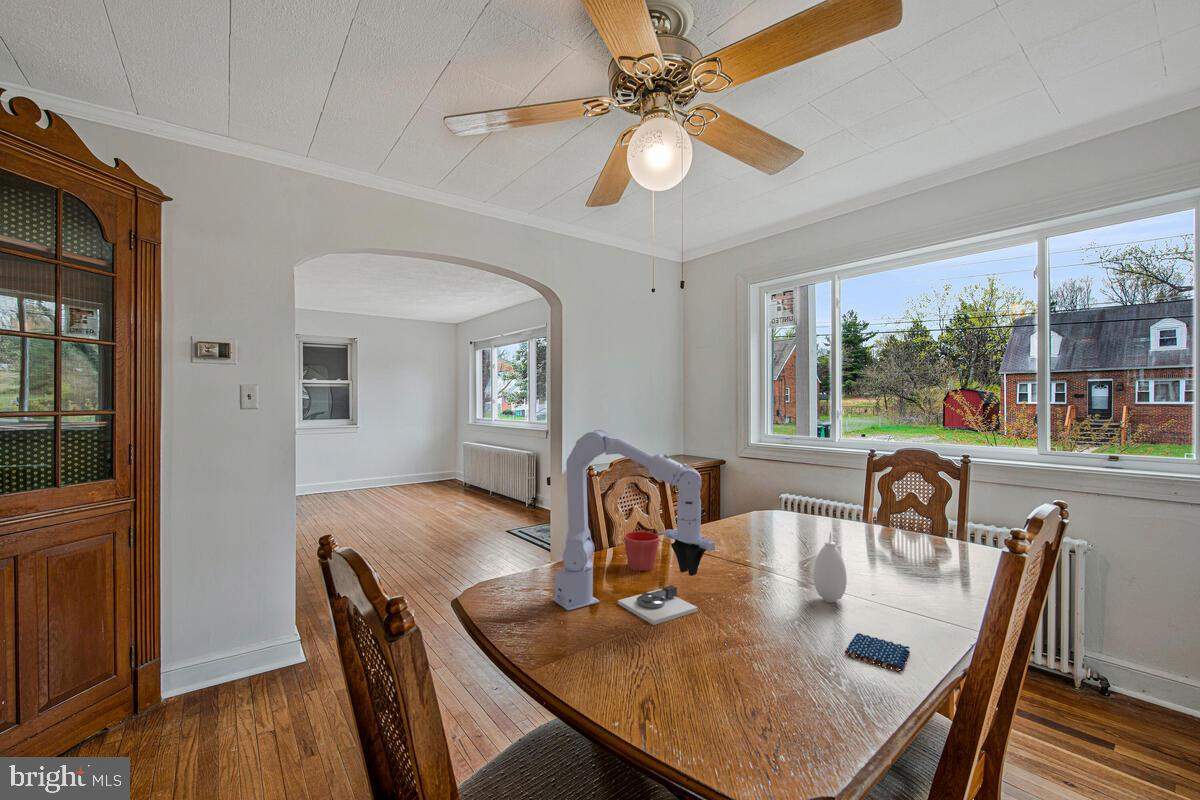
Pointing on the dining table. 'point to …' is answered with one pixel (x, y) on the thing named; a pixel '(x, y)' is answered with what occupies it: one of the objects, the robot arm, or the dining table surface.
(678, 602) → the stand plate
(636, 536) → the flower pot
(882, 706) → the dining table surface
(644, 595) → the crank handle
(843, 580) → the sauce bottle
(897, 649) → the woven mat
